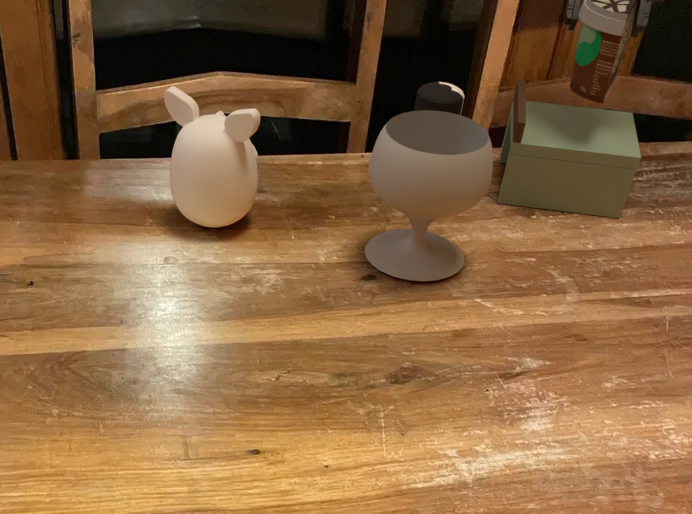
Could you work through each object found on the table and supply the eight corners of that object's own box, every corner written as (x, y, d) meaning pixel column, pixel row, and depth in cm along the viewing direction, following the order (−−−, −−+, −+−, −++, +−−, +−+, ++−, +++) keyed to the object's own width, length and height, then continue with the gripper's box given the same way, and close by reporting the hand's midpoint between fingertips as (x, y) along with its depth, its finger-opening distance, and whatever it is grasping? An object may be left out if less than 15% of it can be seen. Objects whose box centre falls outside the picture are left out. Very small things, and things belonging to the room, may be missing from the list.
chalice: (364, 287, 110) (382, 159, 98) (351, 228, 119) (366, 104, 108) (481, 289, 111) (513, 161, 99) (459, 230, 120) (486, 107, 108)
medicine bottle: (423, 197, 125) (441, 103, 116) (388, 176, 129) (402, 83, 120) (461, 184, 128) (481, 91, 119) (425, 164, 132) (442, 72, 122)
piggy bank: (269, 205, 122) (276, 82, 111) (248, 249, 115) (253, 122, 103) (179, 191, 124) (176, 69, 112) (151, 233, 116) (146, 107, 105)
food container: (571, 64, 123) (593, -24, 116) (618, 72, 122) (644, -16, 114) (550, 99, 116) (573, 7, 108) (600, 108, 114) (627, 16, 107)
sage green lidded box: (612, 171, 132) (639, 92, 124) (619, 218, 123) (648, 137, 115) (499, 158, 134) (518, 79, 126) (497, 203, 125) (518, 121, 117)
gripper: (577, -140, 109) (550, 7, 110) (703, -129, 108) (675, 20, 109) (562, -97, 116) (537, 40, 118) (680, -86, 115) (654, 53, 116)
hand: (603, 30), depth 113 cm, fingers closed on food container, 7 cm apart
